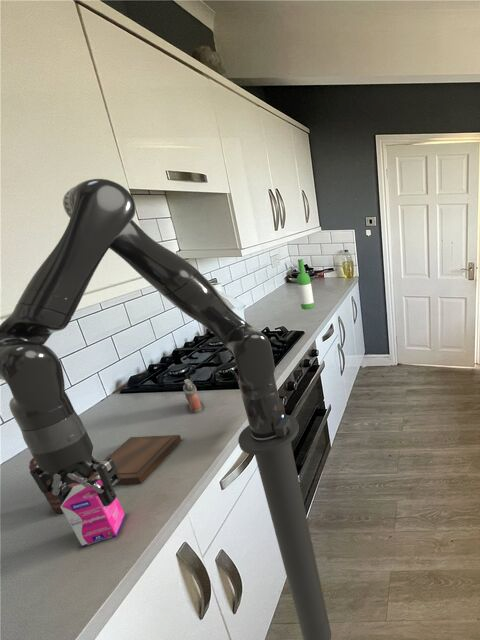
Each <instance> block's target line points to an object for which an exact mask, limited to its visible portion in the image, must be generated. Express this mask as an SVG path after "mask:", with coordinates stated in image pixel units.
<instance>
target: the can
mask: <svg viewBox="0 0 480 640" xmlns="http://www.w3.org/2000/svg"><path fill="white" fill-rule="evenodd" d="M28 463H29V465H28V469H29V471H31V470H32V469H34V468H35V467H36V466H37V463H36V461H35V459H34V458H33V457H32V458H31V459H30V461H29V462H28ZM46 483H47V485H48V484H50V483H51V482H50V481H49V480H48V481H47V482H46ZM77 485H81V484H80V483H79V484H78V483H72V484H70V485H69V486H68V487H73V486H77ZM43 495H44V497H45V499H46V501H47V502H48V504H49V505H50V508H51V509H52V512H54V513H57V514H64V513H63V511H62V509H61V505H62V503H61V502H60V500H59V498H58V496H55V495H53V494H52V492H48V493H47V494H44V493H43Z"/></svg>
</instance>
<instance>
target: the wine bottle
mask: <svg viewBox="0 0 480 640" xmlns="http://www.w3.org/2000/svg"><path fill="white" fill-rule="evenodd" d="M297 264H298V270H299V273H298V275H297V277H296V283H297V290H298V295H299V302H300V307H301V309H302V310H311V309H314V308H315V300H314V294H313V287H312V282H311V277H310V275H309V274H308V273H306V270H305V263H304V259H302V258H301V259H300V258H299V259H297Z"/></svg>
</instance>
